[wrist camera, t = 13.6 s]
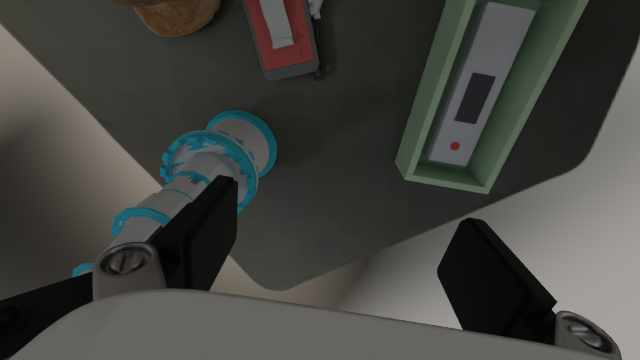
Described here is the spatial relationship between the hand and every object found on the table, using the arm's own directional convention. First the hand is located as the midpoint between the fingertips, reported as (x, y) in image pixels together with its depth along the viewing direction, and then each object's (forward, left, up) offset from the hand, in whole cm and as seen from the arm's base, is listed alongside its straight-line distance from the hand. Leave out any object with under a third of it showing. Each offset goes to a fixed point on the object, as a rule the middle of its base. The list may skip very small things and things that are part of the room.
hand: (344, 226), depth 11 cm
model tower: (+7, -12, -24) cm, 28 cm away
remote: (-5, +14, -24) cm, 28 cm away
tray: (-5, +14, -24) cm, 28 cm away
